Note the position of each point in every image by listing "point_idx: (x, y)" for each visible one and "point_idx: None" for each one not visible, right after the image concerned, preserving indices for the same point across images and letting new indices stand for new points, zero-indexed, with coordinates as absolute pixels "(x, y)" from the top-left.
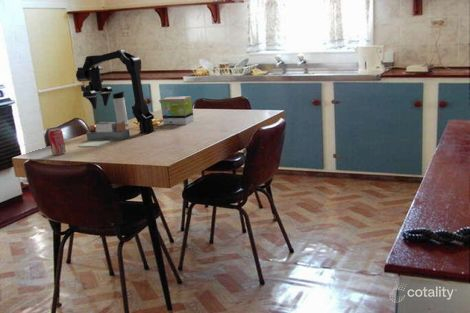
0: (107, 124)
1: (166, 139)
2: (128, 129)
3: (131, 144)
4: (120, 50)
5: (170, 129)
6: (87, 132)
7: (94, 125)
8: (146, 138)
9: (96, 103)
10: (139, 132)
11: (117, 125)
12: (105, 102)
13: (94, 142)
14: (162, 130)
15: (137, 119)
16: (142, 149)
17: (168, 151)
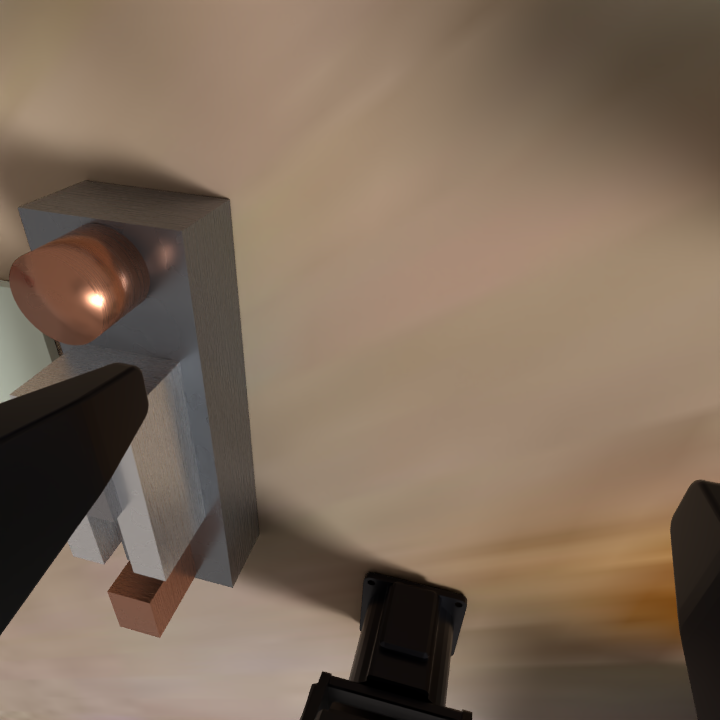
0: None
1: (210, 694)
2: (225, 585)
3: (81, 580)
4: None
5: (481, 711)
6: (31, 220)
7: (68, 329)
8: (221, 623)
9: (35, 582)
10: (366, 579)
11: (119, 579)
12: (714, 643)
13: (3, 355)
14: (458, 678)
15: (309, 700)
16: (27, 631)
17: (42, 697)
